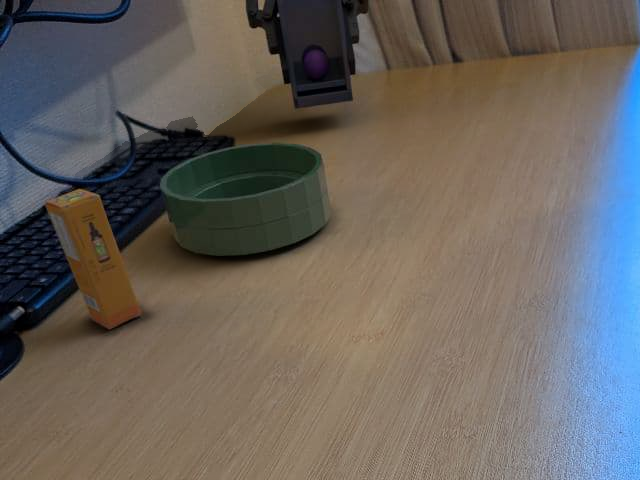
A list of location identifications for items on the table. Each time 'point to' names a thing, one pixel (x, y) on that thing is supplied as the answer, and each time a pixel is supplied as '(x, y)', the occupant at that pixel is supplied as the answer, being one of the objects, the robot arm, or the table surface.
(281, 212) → the bowl
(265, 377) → the table surface
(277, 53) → the robot arm
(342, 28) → the dark grey open holder
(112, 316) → the supplement box
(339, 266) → the table surface
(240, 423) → the table surface
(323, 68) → the ball
